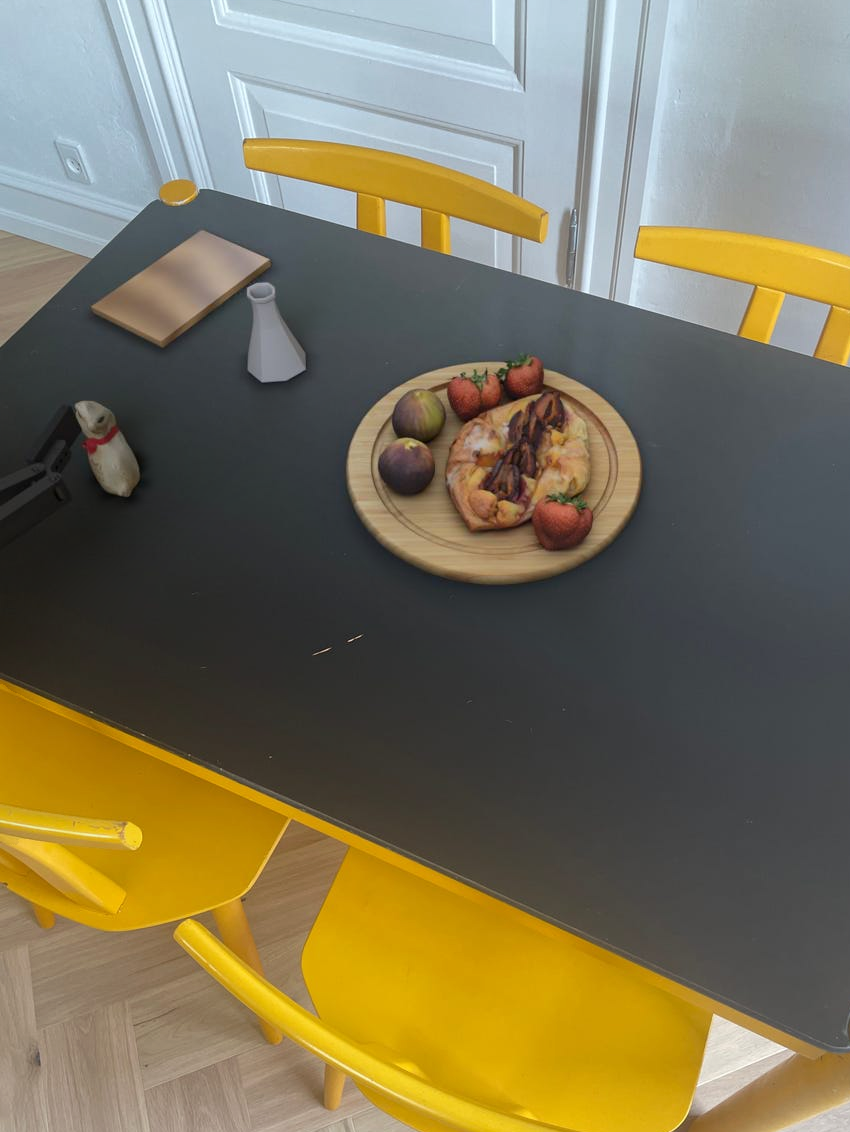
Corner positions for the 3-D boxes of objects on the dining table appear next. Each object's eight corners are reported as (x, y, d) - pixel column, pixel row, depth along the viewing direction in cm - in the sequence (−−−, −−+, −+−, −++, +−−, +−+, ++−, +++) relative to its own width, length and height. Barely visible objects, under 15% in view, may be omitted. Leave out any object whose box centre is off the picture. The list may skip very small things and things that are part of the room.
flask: (315, 373, 106) (302, 300, 97) (257, 391, 104) (238, 318, 95) (296, 338, 109) (281, 264, 101) (239, 354, 107) (219, 280, 99)
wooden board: (163, 348, 108) (160, 341, 107) (93, 313, 111) (90, 306, 111) (271, 266, 117) (269, 259, 116) (203, 236, 121) (201, 229, 120)
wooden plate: (687, 552, 91) (705, 497, 84) (383, 622, 86) (376, 569, 79) (581, 355, 108) (589, 295, 101) (322, 403, 103) (311, 344, 96)
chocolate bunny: (150, 445, 99) (120, 373, 90) (135, 498, 94) (102, 427, 86) (100, 445, 99) (66, 373, 90) (82, 497, 94) (45, 427, 86)
